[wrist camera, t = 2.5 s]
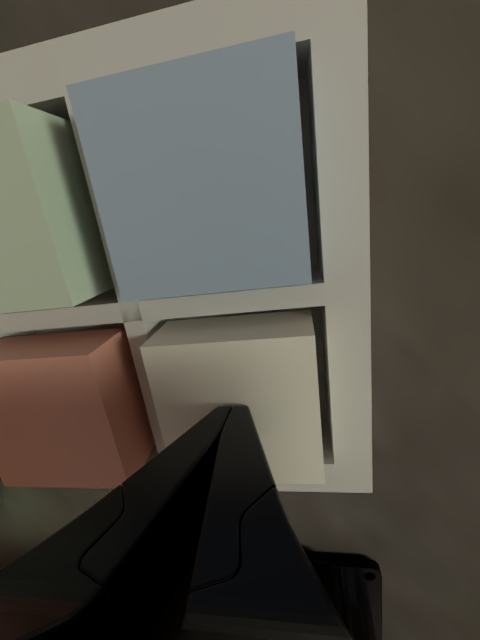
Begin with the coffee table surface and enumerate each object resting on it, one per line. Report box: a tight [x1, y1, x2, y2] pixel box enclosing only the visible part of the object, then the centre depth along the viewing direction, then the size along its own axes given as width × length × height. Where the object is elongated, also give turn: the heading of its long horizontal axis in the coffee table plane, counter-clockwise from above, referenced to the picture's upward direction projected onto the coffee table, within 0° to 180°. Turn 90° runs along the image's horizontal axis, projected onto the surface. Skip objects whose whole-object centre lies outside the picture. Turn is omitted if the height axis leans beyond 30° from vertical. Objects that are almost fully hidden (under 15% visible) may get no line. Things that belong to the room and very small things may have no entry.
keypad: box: [0, 0, 372, 493], centre depth 11 cm, size 13×13×3 cm
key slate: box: [66, 30, 312, 302], centre depth 8 cm, size 4×4×2 cm
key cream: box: [140, 309, 325, 484], centre depth 10 cm, size 4×4×2 cm
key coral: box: [0, 328, 155, 489], centre depth 10 cm, size 4×4×2 cm
